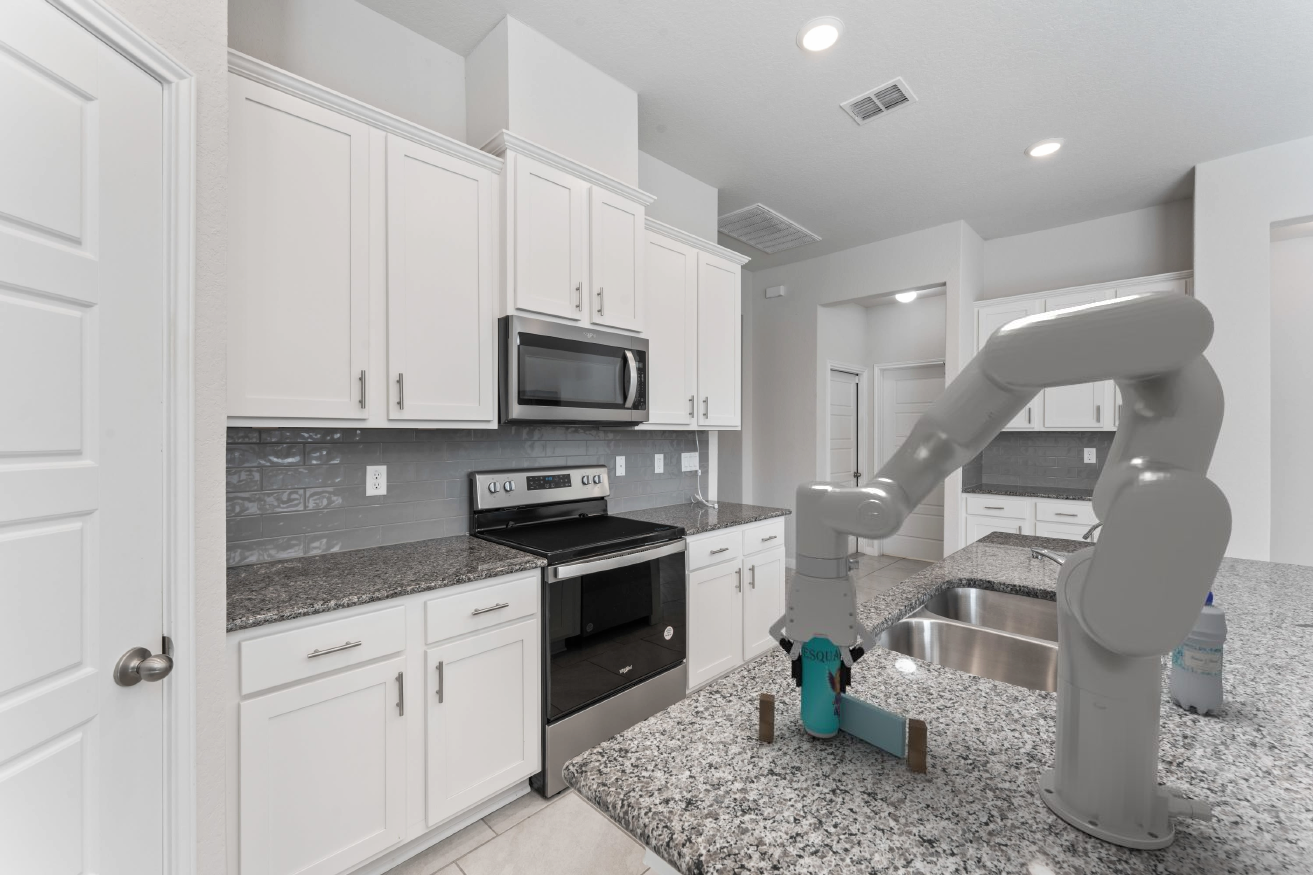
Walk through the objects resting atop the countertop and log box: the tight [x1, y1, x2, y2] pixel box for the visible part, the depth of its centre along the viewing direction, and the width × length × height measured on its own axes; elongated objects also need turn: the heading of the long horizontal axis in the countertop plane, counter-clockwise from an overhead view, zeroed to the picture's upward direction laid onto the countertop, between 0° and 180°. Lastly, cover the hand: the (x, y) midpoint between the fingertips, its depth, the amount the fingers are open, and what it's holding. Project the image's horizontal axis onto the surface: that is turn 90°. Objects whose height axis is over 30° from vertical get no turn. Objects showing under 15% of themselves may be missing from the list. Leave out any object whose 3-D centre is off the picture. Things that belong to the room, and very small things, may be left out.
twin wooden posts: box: [758, 692, 928, 774], centre depth 77 cm, size 22×2×6 cm, turn 72°
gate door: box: [839, 692, 907, 759], centre depth 81 cm, size 16×1×5 cm, turn 40°
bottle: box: [1168, 590, 1228, 716], centre depth 90 cm, size 7×7×20 cm
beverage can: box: [800, 634, 842, 739], centre depth 81 cm, size 6×6×15 cm
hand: (820, 685), depth 81 cm, fingers closed on beverage can, 5 cm apart
